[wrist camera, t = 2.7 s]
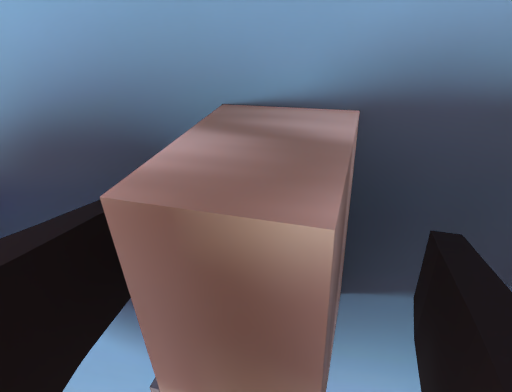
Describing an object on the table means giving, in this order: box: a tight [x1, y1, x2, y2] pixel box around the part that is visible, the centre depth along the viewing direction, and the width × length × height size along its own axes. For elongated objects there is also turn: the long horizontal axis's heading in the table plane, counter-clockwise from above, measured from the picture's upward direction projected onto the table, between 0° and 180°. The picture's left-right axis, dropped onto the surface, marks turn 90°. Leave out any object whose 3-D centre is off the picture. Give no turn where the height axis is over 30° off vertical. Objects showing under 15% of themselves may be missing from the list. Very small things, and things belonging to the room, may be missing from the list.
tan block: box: [100, 104, 360, 392], centre depth 8 cm, size 4×6×5 cm, turn 3°
